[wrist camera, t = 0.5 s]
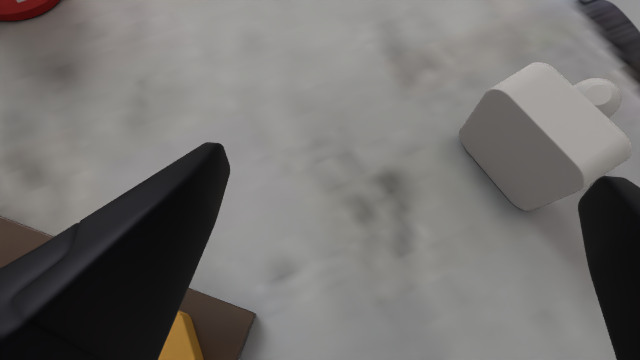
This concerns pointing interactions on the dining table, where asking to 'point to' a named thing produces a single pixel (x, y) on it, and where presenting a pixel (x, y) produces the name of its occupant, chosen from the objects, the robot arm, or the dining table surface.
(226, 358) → the peg rack
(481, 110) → the grey block
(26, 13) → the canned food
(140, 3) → the dining table surface
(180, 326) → the ring
